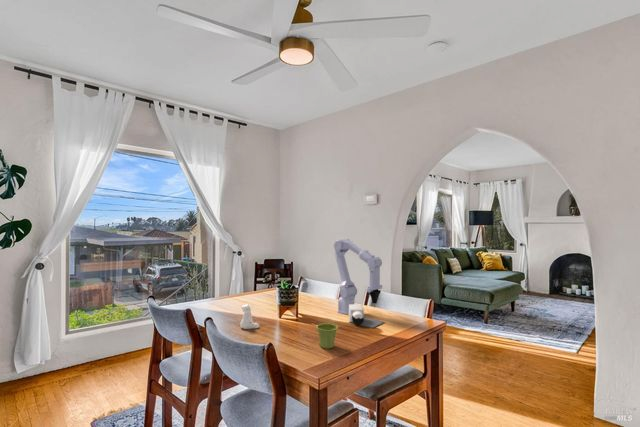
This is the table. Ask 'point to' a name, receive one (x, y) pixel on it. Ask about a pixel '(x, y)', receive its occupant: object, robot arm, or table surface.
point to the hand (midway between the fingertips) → (374, 303)
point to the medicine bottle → (356, 313)
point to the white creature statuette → (247, 319)
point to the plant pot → (327, 335)
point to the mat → (370, 323)
